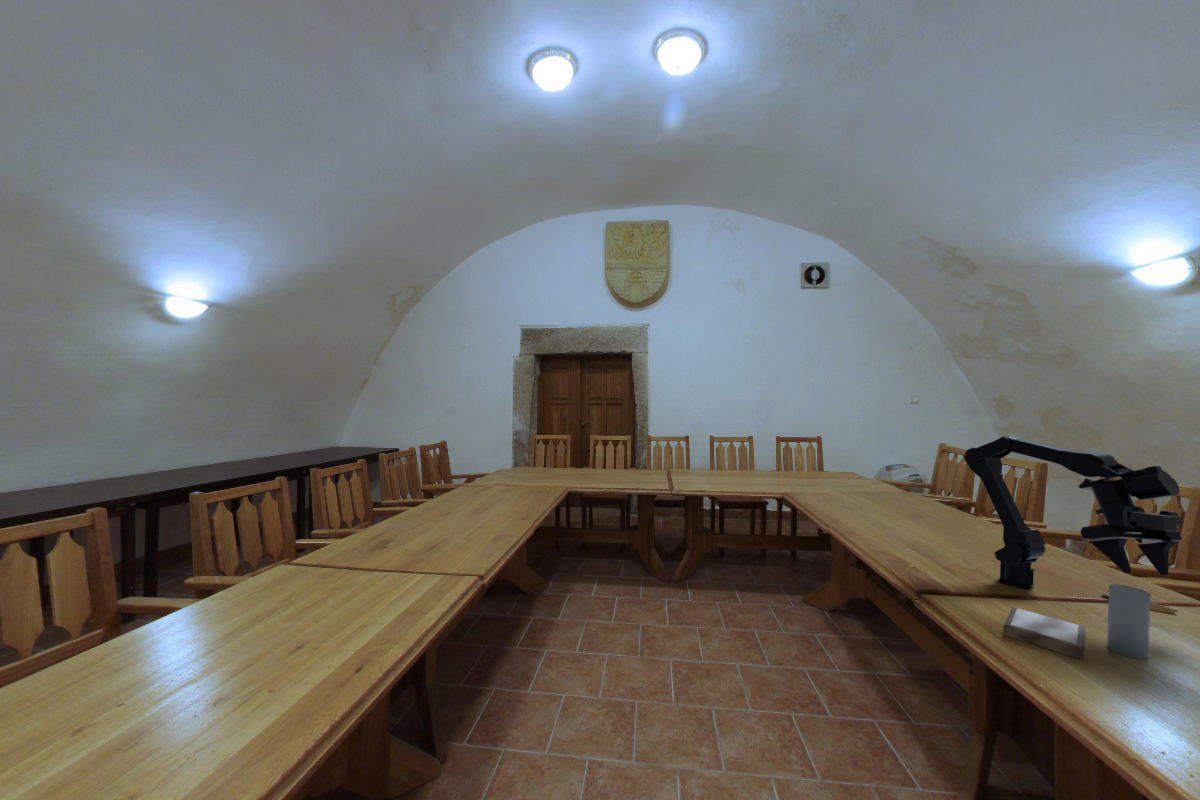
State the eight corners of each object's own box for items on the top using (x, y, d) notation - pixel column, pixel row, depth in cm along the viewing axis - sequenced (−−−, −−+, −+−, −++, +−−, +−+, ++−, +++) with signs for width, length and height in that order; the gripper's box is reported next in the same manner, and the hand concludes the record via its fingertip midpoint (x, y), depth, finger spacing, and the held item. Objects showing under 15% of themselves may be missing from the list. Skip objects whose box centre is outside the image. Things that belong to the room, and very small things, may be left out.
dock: (1003, 635, 100) (1004, 623, 100) (1011, 617, 108) (1011, 606, 108) (1083, 659, 91) (1083, 646, 91) (1085, 638, 99) (1085, 626, 99)
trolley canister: (1106, 650, 94) (1109, 589, 94) (1106, 640, 98) (1109, 581, 98) (1148, 662, 90) (1151, 599, 90) (1147, 652, 94) (1149, 590, 93)
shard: (1178, 617, 109) (1178, 609, 109) (1150, 618, 108) (1151, 611, 108) (1122, 596, 120) (1122, 589, 120) (1096, 597, 119) (1097, 590, 119)
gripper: (1119, 494, 99) (1153, 569, 93) (1194, 499, 101) (1232, 573, 94) (1066, 504, 109) (1093, 572, 103) (1135, 509, 111) (1166, 576, 104)
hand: (1146, 574), depth 101 cm, fingers open, 9 cm apart
